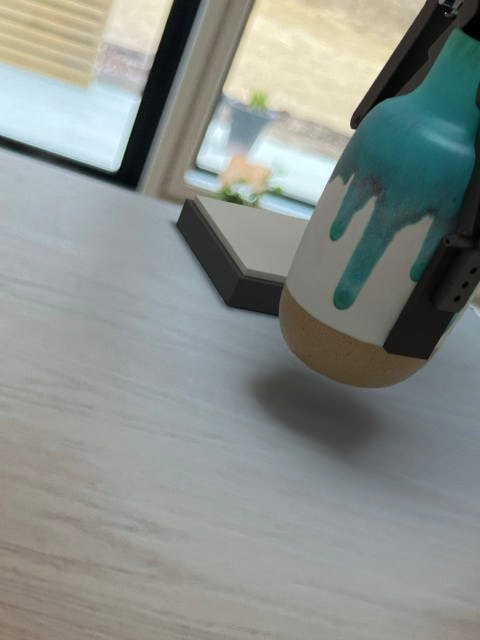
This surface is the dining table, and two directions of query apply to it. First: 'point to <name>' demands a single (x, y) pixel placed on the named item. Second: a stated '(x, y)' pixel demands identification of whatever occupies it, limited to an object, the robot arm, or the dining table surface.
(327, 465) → the dining table surface
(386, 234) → the vase
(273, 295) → the scale
